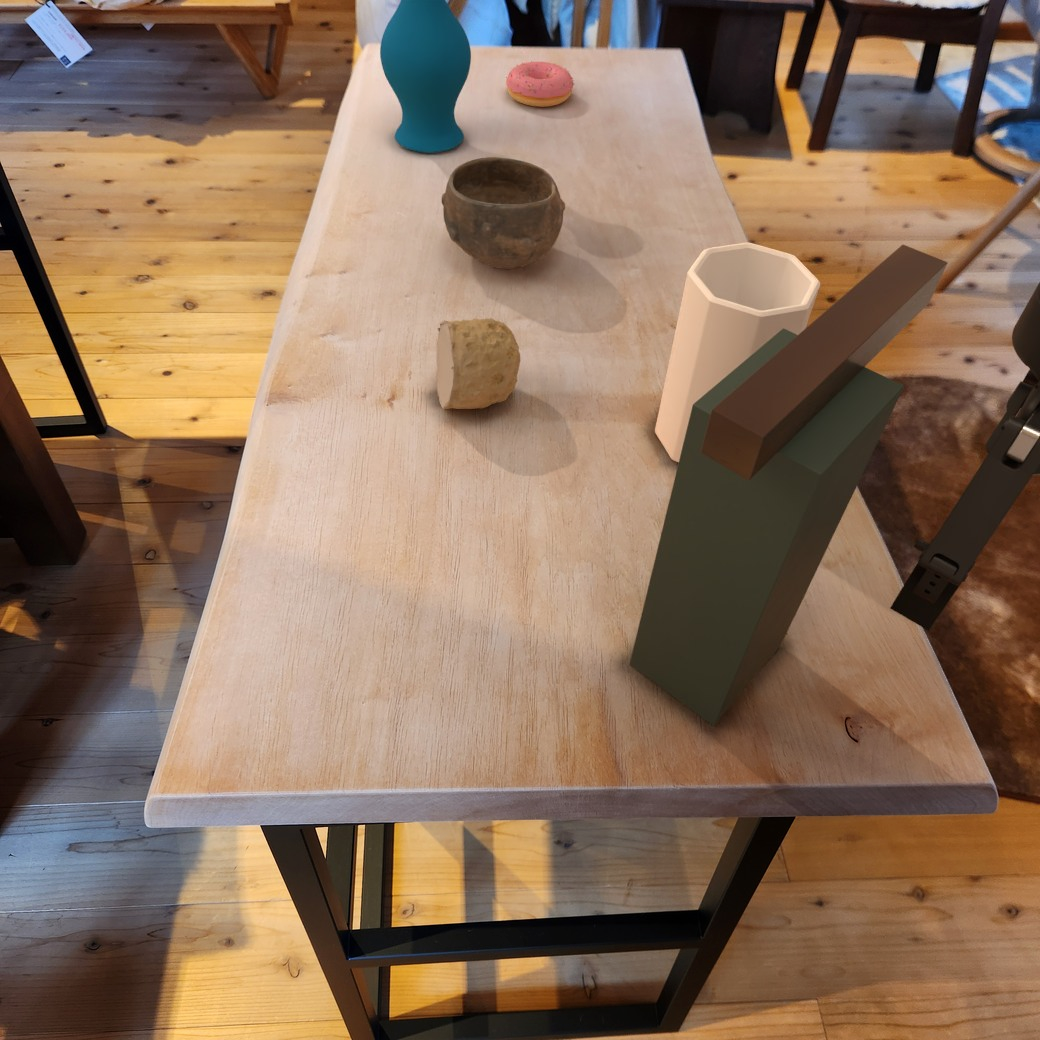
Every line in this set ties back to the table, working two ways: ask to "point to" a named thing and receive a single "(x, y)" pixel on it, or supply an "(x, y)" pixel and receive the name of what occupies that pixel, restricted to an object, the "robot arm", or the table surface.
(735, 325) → the cup
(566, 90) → the doughnut
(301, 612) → the table surface
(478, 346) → the cut tuber
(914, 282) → the rod
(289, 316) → the table surface
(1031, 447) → the robot arm
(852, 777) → the table surface
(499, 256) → the bowl
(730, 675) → the stand
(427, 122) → the vase
